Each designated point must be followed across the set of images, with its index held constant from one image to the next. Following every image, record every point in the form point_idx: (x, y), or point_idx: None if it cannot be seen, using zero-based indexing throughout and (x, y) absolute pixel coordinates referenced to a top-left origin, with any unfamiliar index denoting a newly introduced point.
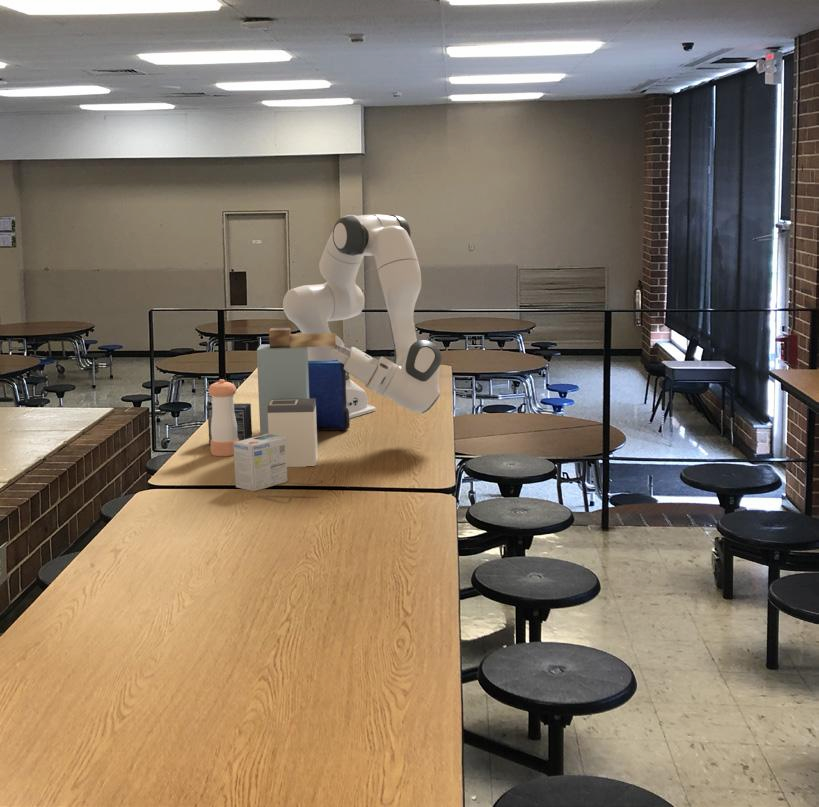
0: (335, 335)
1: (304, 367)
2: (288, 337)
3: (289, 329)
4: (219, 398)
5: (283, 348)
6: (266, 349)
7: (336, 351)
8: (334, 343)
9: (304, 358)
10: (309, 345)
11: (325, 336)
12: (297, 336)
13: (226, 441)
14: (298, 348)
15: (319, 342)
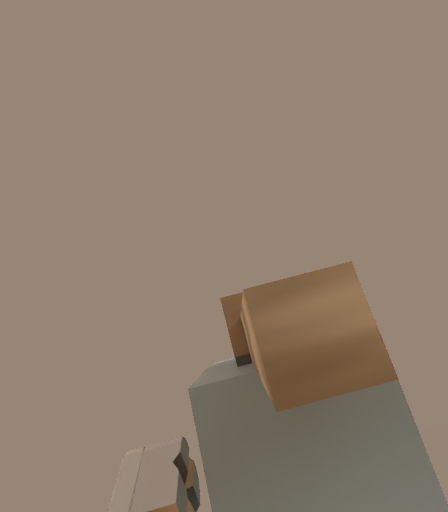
0: (298, 290)
1: (210, 496)
2: (227, 325)
3: (241, 293)
4: None
5: (225, 367)
6: (213, 365)
7: (115, 501)
8: (268, 376)
9: (200, 441)
10: (255, 365)
11: (245, 311)
12: (241, 318)
13: None
14: (213, 378)
15: (254, 353)
